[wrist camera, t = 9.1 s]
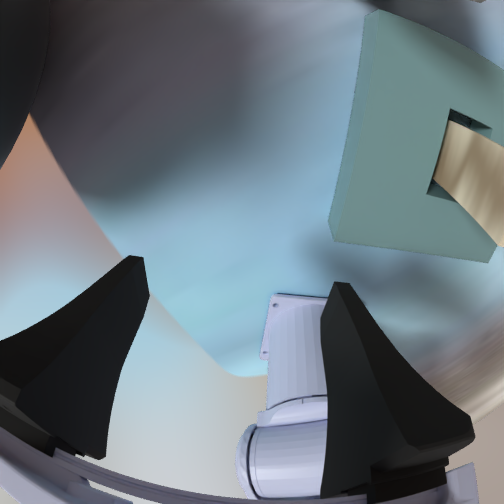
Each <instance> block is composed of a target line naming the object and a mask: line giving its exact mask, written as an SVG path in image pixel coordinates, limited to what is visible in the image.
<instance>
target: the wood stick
mask: <svg viewBox="0 0 504 504" xmlns="http://www.w3.org/2000/svg"><path fill="white" fill-rule="evenodd" d="M432 178H433V179H434V180H435V181H436V182H437V183H438V184H439V185H440V186H442V187H443V188H444V189H445V190H446V191H447V192H448V193H449V194H450V195H451V196H452V197H453V198H454V199H455V200H456V201H457V202H458V203H459V204H460V205H461V206H462V207H463V208H464V209H465V210H466V211H467V212H468V213H469V214H470V215H471V216H472V217H473V218H474V219H475V220H476V221H477V222H478V223H479V225H480V226H481V227H482V228H483V229H484V230H485V231H486V232H487V233H488V235H489V236H490V237H491V238H492V239H493V240H494V242H495V243H496V244H497V245H498V246H501V247H504V147H503V146H501V145H500V144H498V143H496V142H494V141H492V140H490V139H489V138H487V137H485V136H483V135H481V134H479V133H477V132H475V131H473V130H471V129H469V128H467V127H465V126H463V125H460V124H458V123H456V122H453V121H451V120H449V119H448V120H447V124H446V128H445V132H444V136H443V140H442V144H441V148H440V151H439V155H438V158H437V162H436V165H435V168H434V172H433V175H432Z"/></svg>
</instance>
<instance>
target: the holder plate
mask: <svg viewBox="0 0 504 504" xmlns="http://www.w3.org/2000/svg"><path fill="white" fill-rule="evenodd" d="M450 109H451V110H453V111H455V112H458V113H460V114H462V115H464V116H466V117H468V118H470V119H472V120H471V125H470V129H471V130H473V131H475V132H477V133H479V134H481V135H483V136H485V137H487V138H489V139H490V140H492V141H494V142H496V143H498V144H500V145H501V146H503V147H504V70H503V69H501V68H500V67H498V66H497V65H495V64H494V63H492V62H491V61H489V60H487V59H486V58H484V57H483V56H481V55H479V54H478V53H476V52H474V51H473V50H471V49H469V48H467V47H466V46H464V45H462V44H460V43H458V42H456V41H454V40H452V39H451V38H449V37H447V36H445V35H443V34H440V33H438V32H436V31H434V30H432V29H430V28H427V27H425V26H423V25H421V24H418V23H416V22H413V21H411V20H408V19H406V18H403V17H400V16H398V15H395V14H392V13H389V12H386V11H383V10H380V9H378V10H376V11H374V12H372V13H370V14H368V15H366V16H365V21H364V30H363V39H362V47H361V54H360V61H359V68H358V75H357V82H356V88H355V94H354V100H353V106H352V112H351V117H350V122H349V128H348V133H347V138H346V143H345V148H344V153H343V158H342V162H341V167H340V172H339V176H338V181H337V185H336V189H335V194H334V198H333V202H332V206H331V210H330V215H329V219H328V223H329V227H330V230H331V233H332V237H333V240H334V242H342V243H350V244H358V245H365V246H373V247H380V248H388V249H395V250H402V251H409V252H416V253H423V254H430V255H437V256H444V257H450V258H457V259H464V260H470V261H476V262H483V263H488V262H489V260H490V259H491V257H492V255H493V253H494V251H495V249H496V247H497V244H496V243H495V242H494V240H493V239H492V238H491V237H490V236H489V235H488V233H487V232H486V231H485V230H484V229H483V228H482V227H481V226H480V225H479V223H478V222H477V221H476V220H475V219H474V218H473V217H472V216H471V215H470V214H469V213H468V212H467V211H466V210H465V209H464V208H463V207H462V206H461V205H460V204H459V203H458V202H457V201H456V200H455V199H454V198H453V197H452V196H451V195H450V194H449V193H448V192H447V191H446V190H445V189H444V188H443V187H440V186H437V185H433V184H430V181H431V178H432V175H433V172H434V168H435V165H436V162H437V158H438V155H439V151H440V148H441V144H442V140H443V136H444V132H445V128H446V124H447V120H448V115H449V111H450Z"/></svg>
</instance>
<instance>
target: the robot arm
mask: <svg viewBox="0 0 504 504" xmlns="http://www.w3.org/2000/svg"><path fill="white" fill-rule="evenodd" d="M149 297H150V294H149V289H148V283H147V277H146V271H145V265H144V258H143V257H139V256H132V255H129V256H127V257H126V258H125V259H123V260H122V261H121V262H120V263H119V264H117V265H116V266H115V267H114V268H112V269H111V270H110V271H109V272H107V273H106V274H105V275H104V276H103V277H101V278H100V279H99V280H98V281H96V282H95V283H94V284H93V285H92V286H90V287H89V288H88V289H86V290H85V291H84V292H82V293H81V294H80V295H78V296H77V297H76V298H75V299H73V300H72V301H71V302H69V303H68V304H66V305H65V306H64V307H62V308H61V309H59V310H58V311H56V312H55V313H53V314H51V315H50V316H48V317H47V318H45V319H43V320H42V321H40V322H38V323H36V324H34V325H33V326H31V327H29V328H27V329H25V330H23V331H21V332H19V333H17V334H15V335H13V336H10V337H8V338H6V339H4V340H1V341H0V487H1V488H2V489H4V490H5V491H6V492H7V493H8V494H9V495H10V496H11V497H13V498H14V499H15V500H16V501H17V502H19V503H20V504H133V502H131V501H128V500H126V499H123V498H120V497H117V496H114V495H111V494H108V493H106V492H103V491H100V490H97V489H95V488H92V487H91V486H90V484H89V482H88V480H87V479H89V480H91V481H93V482H96V483H98V484H101V485H104V486H106V487H109V488H112V489H115V490H117V491H120V492H123V493H126V494H129V495H133V496H136V497H139V498H143V499H146V500H150V501H154V502H158V503H162V504H479V498H478V489H477V481H476V474H475V469H474V463H473V462H471V463H469V464H466V465H464V466H461V467H458V468H456V469H453V470H450V471H448V472H445V466H447V465H448V464H449V459H448V456H450V455H452V454H454V453H455V452H457V451H459V450H461V449H463V448H464V447H466V446H467V445H469V444H470V443H472V442H473V440H474V439H475V433H474V429H473V425H472V421H471V417H470V416H469V415H468V414H466V413H465V412H464V411H462V410H461V409H459V408H458V407H457V406H455V405H454V404H452V403H451V402H450V401H448V400H447V399H446V398H445V397H443V396H442V395H441V394H440V393H439V392H437V391H436V390H435V389H434V388H433V387H432V386H431V385H430V384H428V383H427V382H426V381H425V380H424V379H423V378H422V377H421V376H420V375H419V374H418V373H417V372H416V371H415V370H414V369H413V368H412V367H411V365H410V364H409V363H408V362H407V361H406V360H405V359H404V358H403V356H402V355H401V354H400V353H399V352H398V351H397V349H396V348H395V347H394V346H393V344H392V343H391V342H390V340H389V339H388V338H387V337H386V335H385V334H384V333H383V331H382V330H381V329H380V327H379V326H378V324H377V323H376V322H375V320H374V319H373V317H372V316H371V314H370V313H369V311H368V310H367V308H366V307H365V305H364V304H363V302H362V301H361V300H360V298H359V297H358V295H357V294H356V292H355V291H354V289H353V288H352V286H351V285H350V283H343V282H334V284H333V286H332V289H331V292H330V294H329V297H328V299H326V298H315V297H304V296H293V295H283V294H274V295H272V296H271V299H270V304H269V309H268V315H267V320H266V325H265V330H264V335H263V341H262V346H261V351H260V359H261V360H267V361H268V381H267V403H266V411H261V412H258V417H257V424H252V425H250V426H249V427H248V428H247V429H246V430H245V432H244V434H243V435H242V436H241V438H240V440H239V442H238V446H237V450H236V460H235V466H236V474H237V478H238V481H239V484H240V485H241V487H242V489H243V490H244V492H245V494H246V496H247V499H240V498H230V497H221V496H213V495H207V494H200V493H194V492H189V491H183V490H178V489H174V488H169V487H165V486H161V485H157V484H153V483H149V482H145V481H142V480H138V479H135V478H132V477H128V476H125V475H122V474H119V473H116V472H113V471H110V470H108V469H105V468H102V467H99V466H97V465H94V464H92V463H89V462H87V461H85V460H82V459H80V458H78V457H75V454H78V455H81V456H83V457H84V456H85V455H87V456H89V457H92V458H94V459H97V460H101V459H103V458H104V457H106V447H107V437H108V429H109V423H110V416H111V410H112V406H113V401H114V396H115V392H116V388H117V384H118V380H119V377H120V373H121V370H122V367H123V364H124V362H125V359H126V357H127V354H128V352H129V350H130V347H131V345H132V342H133V340H134V338H135V336H136V333H137V331H138V329H139V326H140V324H141V321H142V319H143V317H144V313H145V310H146V307H147V303H148V300H149ZM274 303H277V304H274Z"/></svg>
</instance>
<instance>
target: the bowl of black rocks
mask: <svg viewBox="0 0 504 504" xmlns="http://www.w3.org/2000/svg"><path fill="white" fill-rule="evenodd" d="M49 29H50V0H0V169H1V167H2V165H3V164H4V162H5V160H6V159H7V157H8V155H9V154H10V152H11V150H12V148H13V146H14V144H15V142H16V140H17V138H18V136H19V134H20V132H21V130H22V128H23V126H24V123H25V121H26V119H27V116H28V114H29V112H30V109H31V106H32V104H33V101H34V98H35V95H36V92H37V89H38V86H39V82H40V79H41V75H42V71H43V68H44V63H45V58H46V53H47V47H48V40H49Z"/></svg>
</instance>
